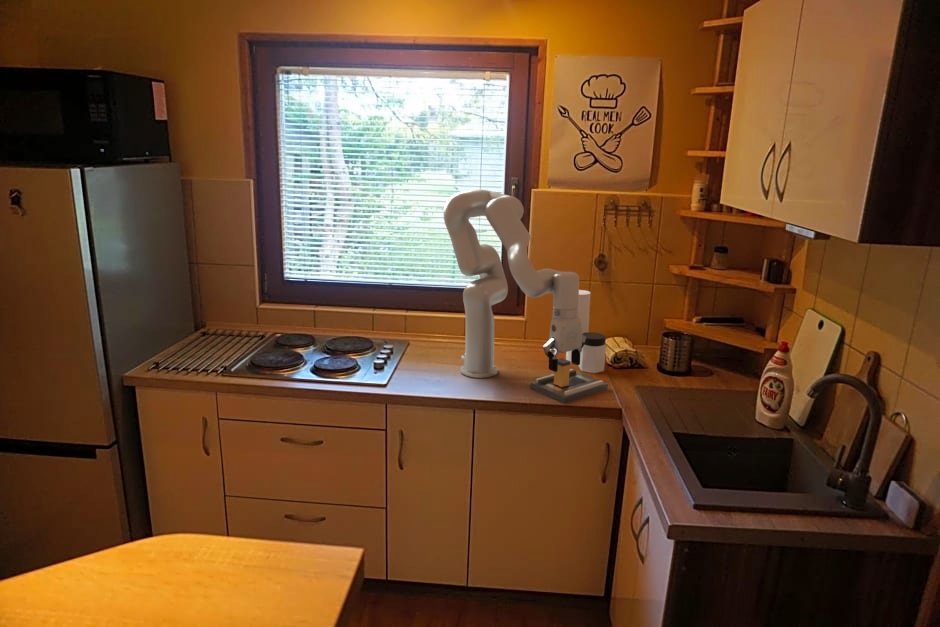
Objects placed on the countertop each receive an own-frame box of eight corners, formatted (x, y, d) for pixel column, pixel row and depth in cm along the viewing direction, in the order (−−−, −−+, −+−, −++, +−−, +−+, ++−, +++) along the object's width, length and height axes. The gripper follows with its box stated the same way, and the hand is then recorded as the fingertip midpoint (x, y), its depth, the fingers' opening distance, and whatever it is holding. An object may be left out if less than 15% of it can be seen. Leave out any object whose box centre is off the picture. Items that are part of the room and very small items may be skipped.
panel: (530, 388, 198) (530, 381, 198) (572, 375, 209) (573, 369, 209) (564, 403, 187) (564, 397, 186) (607, 389, 198) (607, 383, 197)
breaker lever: (553, 383, 196) (554, 359, 194) (560, 381, 198) (561, 358, 196) (561, 387, 193) (563, 363, 191) (569, 385, 195) (570, 361, 193)
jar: (590, 375, 210) (592, 340, 207) (573, 367, 217) (575, 334, 213) (609, 370, 215) (611, 336, 212) (592, 363, 221) (594, 330, 218)
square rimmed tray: (535, 381, 198) (535, 378, 198) (571, 371, 207) (571, 368, 207) (566, 395, 187) (566, 392, 187) (603, 384, 197) (603, 381, 196)
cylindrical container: (571, 356, 229) (575, 289, 222) (589, 360, 225) (594, 291, 218) (562, 361, 223) (565, 292, 217) (580, 365, 219) (584, 295, 213)
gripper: (553, 320, 181) (552, 376, 185) (594, 310, 191) (593, 364, 195) (535, 315, 187) (535, 370, 191) (576, 306, 197) (575, 358, 201)
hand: (564, 367), depth 193 cm, fingers open, 9 cm apart
